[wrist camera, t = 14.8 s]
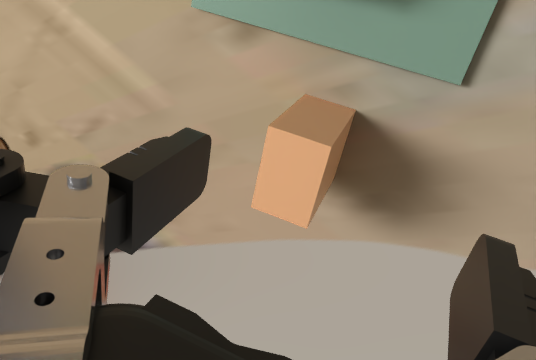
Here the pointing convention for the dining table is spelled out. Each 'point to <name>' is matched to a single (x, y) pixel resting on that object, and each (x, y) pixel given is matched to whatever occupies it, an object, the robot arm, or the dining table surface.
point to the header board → (376, 28)
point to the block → (301, 159)
